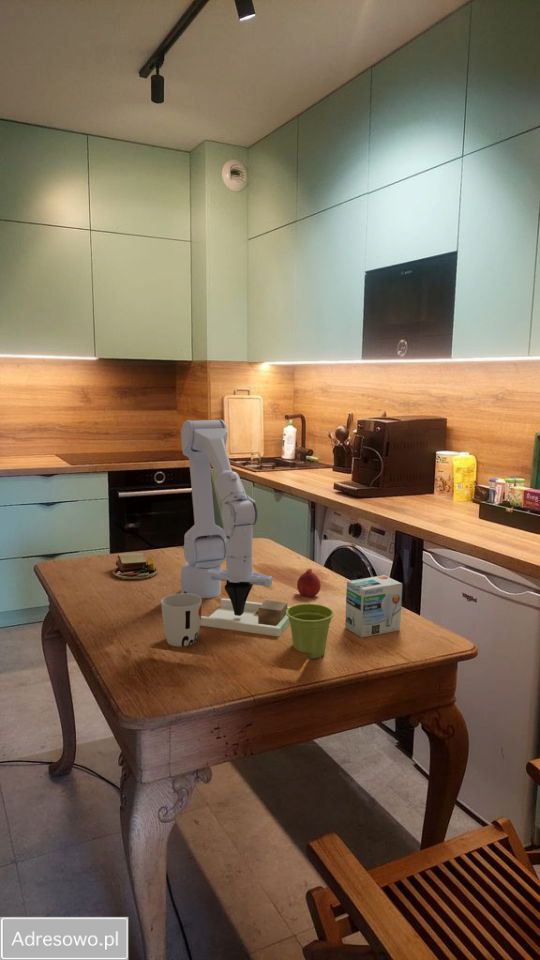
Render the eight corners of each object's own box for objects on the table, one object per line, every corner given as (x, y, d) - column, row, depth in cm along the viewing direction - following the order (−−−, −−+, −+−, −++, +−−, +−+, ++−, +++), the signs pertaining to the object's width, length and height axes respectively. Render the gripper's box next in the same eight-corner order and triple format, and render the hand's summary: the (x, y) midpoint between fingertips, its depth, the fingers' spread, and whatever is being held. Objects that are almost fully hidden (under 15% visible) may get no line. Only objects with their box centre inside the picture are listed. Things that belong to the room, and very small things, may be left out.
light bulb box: (361, 638, 136) (363, 589, 134) (343, 627, 142) (345, 580, 140) (401, 630, 141) (403, 582, 139) (382, 619, 146) (384, 574, 145)
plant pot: (298, 666, 122) (299, 623, 121) (277, 647, 131) (278, 606, 129) (341, 658, 126) (342, 616, 124) (318, 640, 134) (319, 601, 133)
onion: (318, 604, 155) (319, 573, 154) (295, 602, 156) (295, 571, 155) (321, 596, 161) (322, 566, 160) (298, 595, 162) (299, 564, 161)
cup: (184, 659, 125) (184, 610, 123) (153, 649, 129) (152, 601, 127) (210, 644, 131) (210, 598, 130) (179, 636, 136) (179, 590, 134)
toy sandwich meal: (112, 583, 171) (112, 566, 170) (112, 568, 183) (111, 552, 183) (160, 580, 174) (160, 563, 173) (156, 566, 186) (156, 550, 186)
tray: (199, 631, 138) (199, 617, 138) (222, 611, 150) (222, 598, 150) (279, 643, 133) (279, 628, 132) (296, 621, 145) (296, 607, 144)
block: (258, 625, 138) (258, 607, 137) (265, 617, 143) (265, 600, 142) (280, 628, 137) (280, 610, 136) (286, 620, 141) (287, 602, 141)
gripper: (201, 556, 138) (201, 616, 140) (265, 562, 134) (264, 624, 136) (214, 547, 145) (214, 605, 147) (275, 554, 140) (274, 613, 143)
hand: (239, 614), depth 142 cm, fingers closed
